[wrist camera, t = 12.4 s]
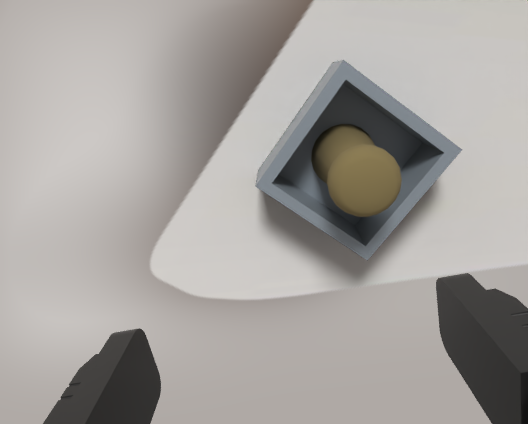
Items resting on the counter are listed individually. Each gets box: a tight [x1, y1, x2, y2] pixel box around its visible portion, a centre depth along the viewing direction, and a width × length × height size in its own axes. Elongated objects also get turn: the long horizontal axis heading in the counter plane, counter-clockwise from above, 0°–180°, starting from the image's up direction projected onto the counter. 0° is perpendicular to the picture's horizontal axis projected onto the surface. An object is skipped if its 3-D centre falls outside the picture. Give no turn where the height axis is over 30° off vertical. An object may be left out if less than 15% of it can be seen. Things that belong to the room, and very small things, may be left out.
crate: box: [255, 60, 462, 260], centre depth 36 cm, size 12×12×6 cm
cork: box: [311, 124, 402, 217], centre depth 32 cm, size 6×6×11 cm
